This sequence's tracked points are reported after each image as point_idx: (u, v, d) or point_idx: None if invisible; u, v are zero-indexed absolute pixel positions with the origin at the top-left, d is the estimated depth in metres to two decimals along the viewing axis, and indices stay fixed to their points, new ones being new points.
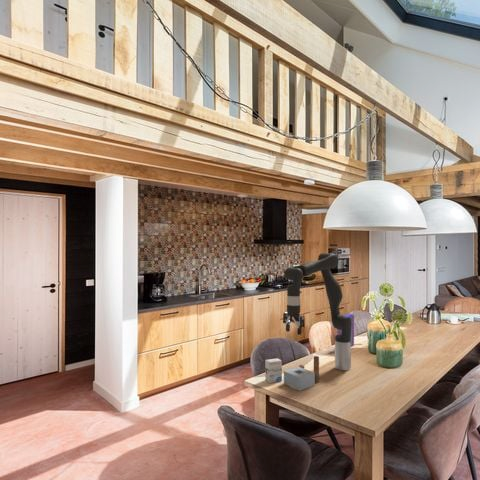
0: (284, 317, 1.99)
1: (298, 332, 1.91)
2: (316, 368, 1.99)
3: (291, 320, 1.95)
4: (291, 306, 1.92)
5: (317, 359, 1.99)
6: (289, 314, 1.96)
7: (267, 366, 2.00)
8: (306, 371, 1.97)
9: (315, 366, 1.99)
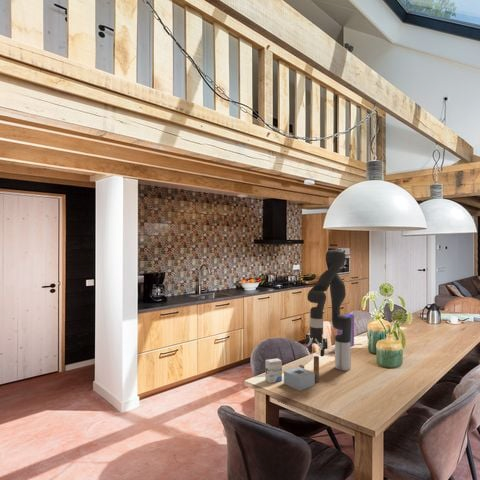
0: (307, 338, 2.05)
1: (321, 354, 1.96)
2: (316, 368, 1.99)
3: (314, 342, 2.00)
4: (314, 328, 1.98)
5: (317, 359, 1.99)
6: (312, 336, 2.02)
7: (267, 366, 2.00)
8: (306, 371, 1.97)
9: (315, 366, 1.99)
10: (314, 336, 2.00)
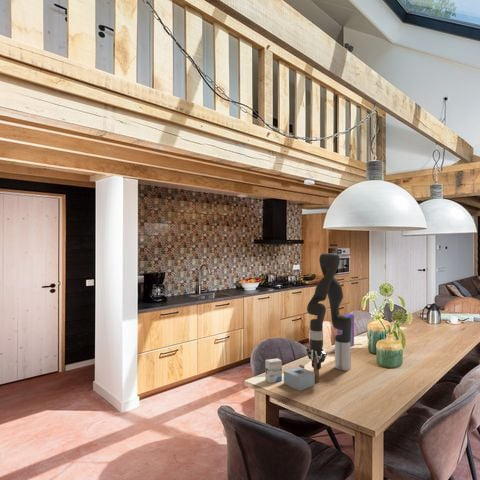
0: (308, 352, 2.04)
1: (318, 367, 1.98)
2: (316, 368, 1.99)
3: (314, 354, 2.00)
4: (314, 341, 1.97)
5: None
6: (312, 348, 2.02)
7: (267, 366, 2.00)
8: (306, 371, 1.97)
9: (315, 366, 1.99)
10: (314, 348, 2.00)
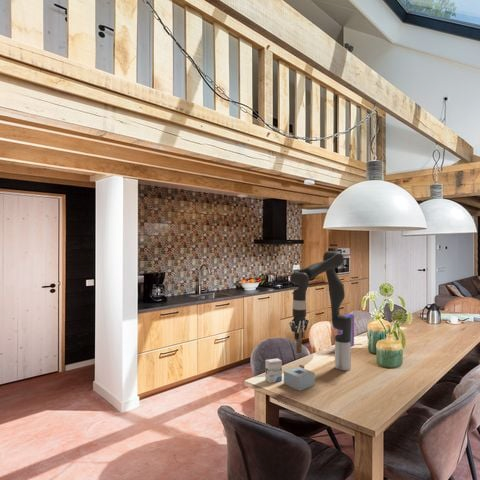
0: None
1: None
2: None
3: None
4: None
5: (296, 329, 1.96)
6: None
7: (267, 366, 2.00)
8: (306, 371, 1.97)
9: None
10: None
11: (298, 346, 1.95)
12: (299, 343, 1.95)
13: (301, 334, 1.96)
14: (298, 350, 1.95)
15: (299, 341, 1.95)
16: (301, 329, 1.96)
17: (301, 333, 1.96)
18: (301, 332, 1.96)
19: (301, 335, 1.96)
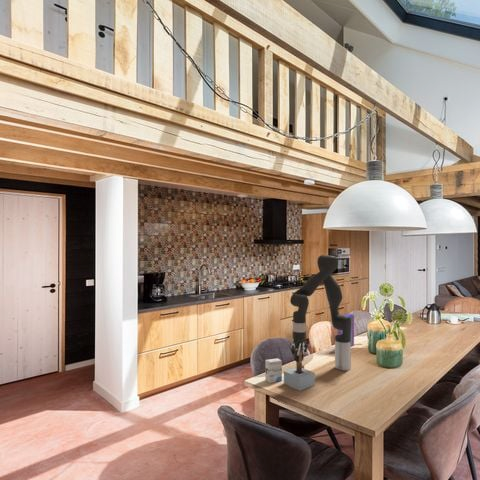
0: None
1: None
2: None
3: None
4: None
5: (296, 351, 1.96)
6: None
7: (267, 366, 2.00)
8: (306, 371, 1.97)
9: None
10: None
11: (298, 368, 1.95)
12: (299, 365, 1.95)
13: (301, 356, 1.95)
14: (298, 372, 1.95)
15: (299, 363, 1.95)
16: (301, 351, 1.95)
17: (301, 355, 1.95)
18: (301, 354, 1.95)
19: (301, 357, 1.95)
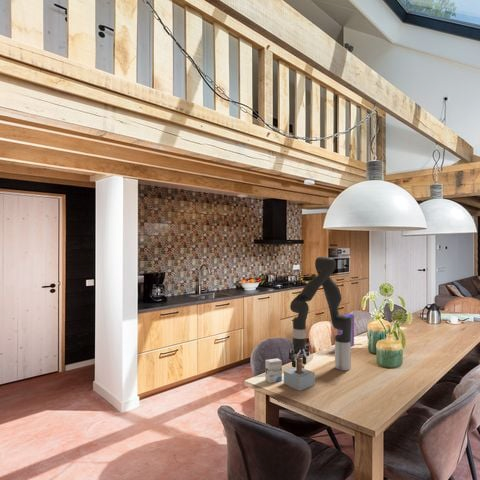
0: None
1: None
2: (296, 370, 1.96)
3: None
4: None
5: (296, 361, 1.96)
6: None
7: (267, 366, 2.00)
8: (306, 371, 1.97)
9: None
10: None
11: None
12: None
13: (301, 366, 1.95)
14: None
15: (299, 373, 1.95)
16: (301, 361, 1.95)
17: (301, 365, 1.95)
18: (301, 364, 1.95)
19: (301, 367, 1.95)
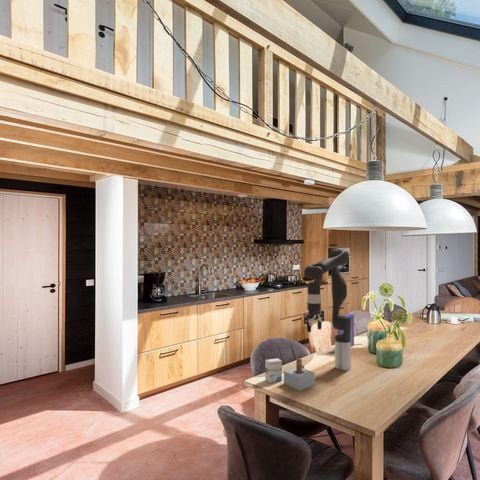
0: None
1: None
2: (296, 370, 1.96)
3: None
4: None
5: (296, 361, 1.96)
6: None
7: (267, 366, 2.00)
8: (306, 371, 1.97)
9: None
10: None
11: None
12: None
13: (301, 366, 1.95)
14: None
15: (299, 373, 1.95)
16: (301, 361, 1.95)
17: (301, 365, 1.95)
18: (301, 364, 1.95)
19: (301, 367, 1.95)
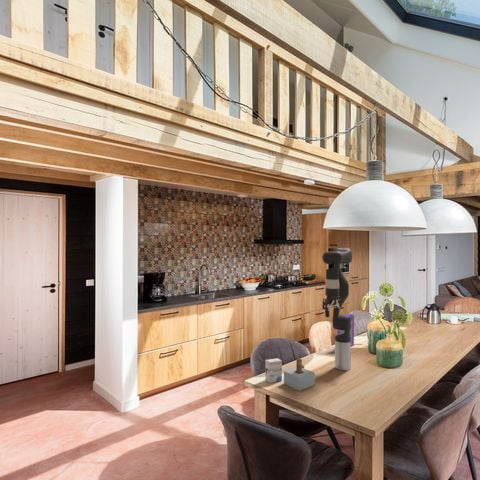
0: None
1: None
2: (296, 370, 1.96)
3: None
4: None
5: (296, 361, 1.96)
6: None
7: (267, 366, 2.00)
8: (306, 371, 1.97)
9: None
10: None
11: None
12: None
13: (301, 366, 1.95)
14: None
15: (299, 373, 1.95)
16: (301, 361, 1.95)
17: (301, 365, 1.95)
18: (301, 364, 1.95)
19: (301, 367, 1.95)
